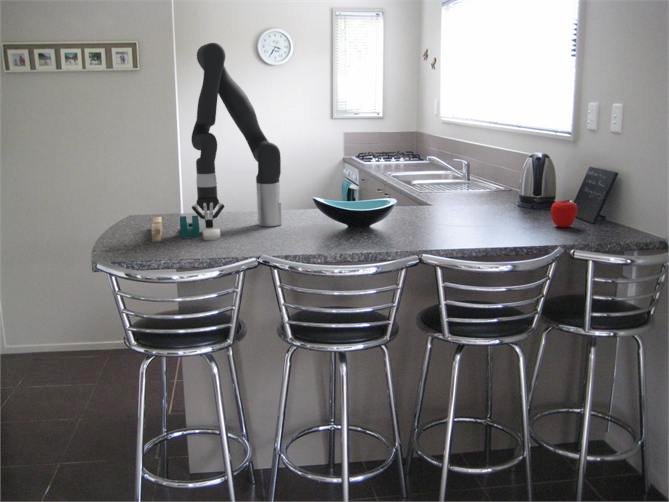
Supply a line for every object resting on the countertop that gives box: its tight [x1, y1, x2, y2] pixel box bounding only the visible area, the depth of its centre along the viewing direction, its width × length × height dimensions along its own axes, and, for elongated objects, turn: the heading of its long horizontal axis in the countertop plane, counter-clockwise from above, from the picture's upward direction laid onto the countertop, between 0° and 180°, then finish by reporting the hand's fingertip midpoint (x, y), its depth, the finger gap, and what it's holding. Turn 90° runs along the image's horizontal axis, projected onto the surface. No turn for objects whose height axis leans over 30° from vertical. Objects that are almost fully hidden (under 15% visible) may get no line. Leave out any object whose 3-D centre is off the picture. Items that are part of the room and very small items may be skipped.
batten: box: [151, 216, 163, 243], centre depth 255 cm, size 3×24×5 cm, turn 13°
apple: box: [550, 200, 579, 228], centre depth 258 cm, size 10×10×11 cm
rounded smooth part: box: [202, 227, 221, 241], centre depth 248 cm, size 6×6×4 cm
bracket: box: [179, 214, 201, 239], centre depth 258 cm, size 18×7×8 cm, turn 11°
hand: (209, 228), depth 260 cm, fingers closed
